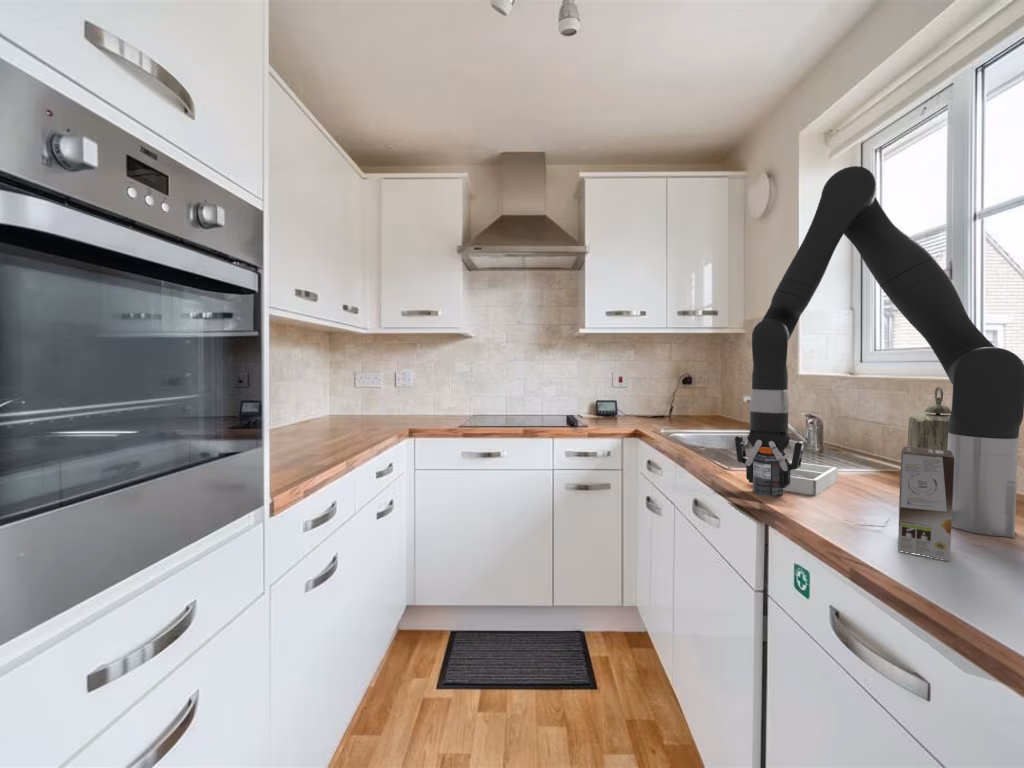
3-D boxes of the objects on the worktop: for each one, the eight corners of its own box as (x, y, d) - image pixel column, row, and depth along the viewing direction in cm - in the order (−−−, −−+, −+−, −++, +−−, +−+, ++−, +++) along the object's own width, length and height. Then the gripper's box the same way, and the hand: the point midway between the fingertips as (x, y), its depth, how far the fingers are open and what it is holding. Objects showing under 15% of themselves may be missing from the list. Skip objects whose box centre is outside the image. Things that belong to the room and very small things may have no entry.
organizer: (837, 485, 120) (837, 467, 120) (815, 500, 106) (816, 480, 106) (781, 476, 129) (782, 460, 129) (754, 490, 115) (755, 471, 115)
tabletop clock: (964, 492, 115) (969, 388, 114) (915, 487, 119) (919, 386, 118) (949, 480, 127) (953, 386, 126) (905, 476, 132) (909, 385, 131)
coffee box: (951, 563, 72) (956, 457, 72) (897, 552, 76) (901, 452, 76) (947, 545, 80) (951, 449, 79) (897, 536, 84) (901, 445, 83)
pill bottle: (775, 493, 110) (776, 444, 110) (787, 500, 104) (788, 448, 104) (748, 492, 111) (749, 443, 110) (759, 499, 105) (759, 447, 105)
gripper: (810, 410, 104) (808, 487, 105) (741, 407, 115) (740, 476, 115) (800, 413, 99) (798, 493, 100) (729, 408, 109) (728, 482, 110)
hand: (767, 484), depth 107 cm, fingers closed on pill bottle, 6 cm apart
